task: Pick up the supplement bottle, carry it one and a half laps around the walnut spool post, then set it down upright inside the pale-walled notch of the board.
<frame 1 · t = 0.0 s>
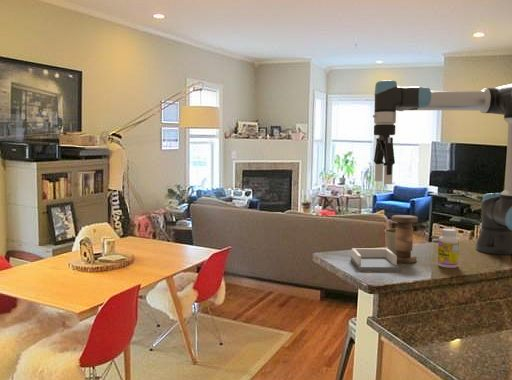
hand: (383, 182, 177), 28 cm above the countertop, tool pointing down, fingers open, 13 cm apart
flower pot: (396, 253, 188), on the countertop
supplement bottle: (447, 266, 167), on the countertop
notched board: (374, 265, 168), on the countertop
spool post: (403, 260, 176), on the countertop
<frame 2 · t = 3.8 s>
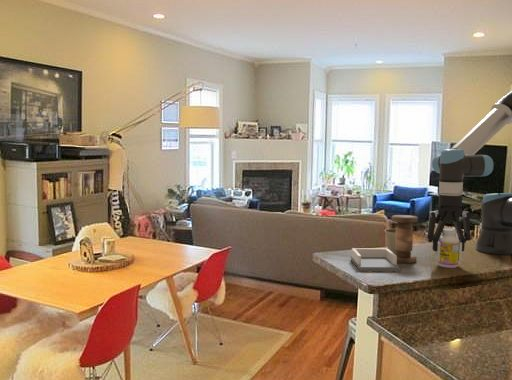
hand: (447, 260, 167), 2 cm above the countertop, tool pointing down, fingers closed on supplement bottle, 7 cm apart
supplement bottle: (447, 266, 167), on the countertop, touching gripper
everything else where it was.
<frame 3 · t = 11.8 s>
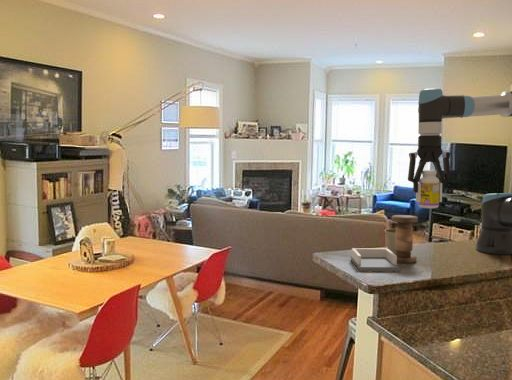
hand: (428, 201, 167), 22 cm above the countertop, tool pointing down, fingers closed on supplement bottle, 7 cm apart
supplement bottle: (428, 207, 167), point 20 cm above the countertop, touching gripper
everything else where it was.
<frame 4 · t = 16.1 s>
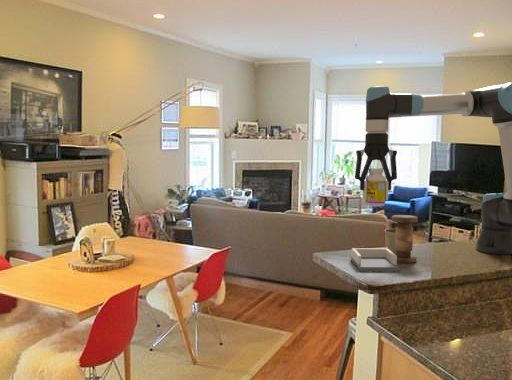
hand: (375, 199, 167), 23 cm above the countertop, tool pointing down, fingers closed on supplement bottle, 7 cm apart
supplement bottle: (375, 206, 167), point 21 cm above the countertop, touching gripper
everything else where it was.
when the fingers open (6 cm above the countertop, at t = 19.8 s): supplement bottle drops 2 cm, resting on notched board.
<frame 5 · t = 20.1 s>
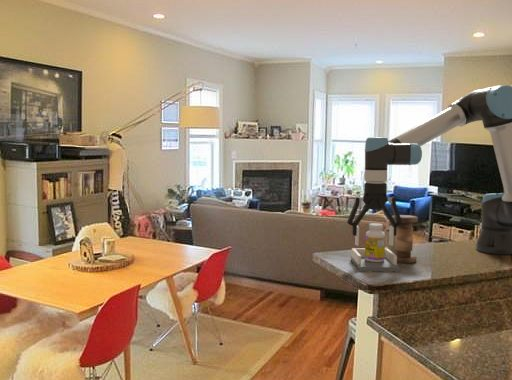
hand: (373, 244, 168), 7 cm above the countertop, tool pointing down, fingers open, 11 cm apart
supplement bottle: (374, 261, 169), point 1 cm above the countertop, touching notched board
everything else where it was.
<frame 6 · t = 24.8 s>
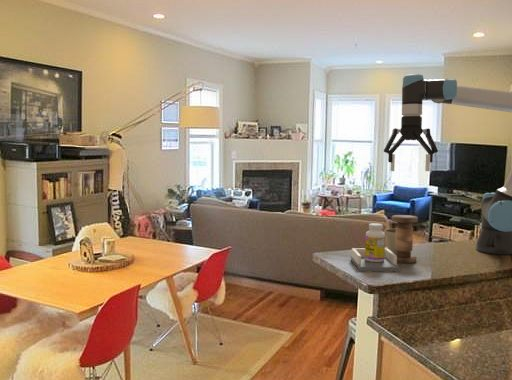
hand: (409, 171, 188), 32 cm above the countertop, tool pointing down, fingers open, 13 cm apart
nothing on the countertop moved.
at the end: supplement bottle 0.4 cm from the target spot on the notched board, point 1.3 cm above the notched board's base; supplement bottle tilted 0°; the gripper is holding nothing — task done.
